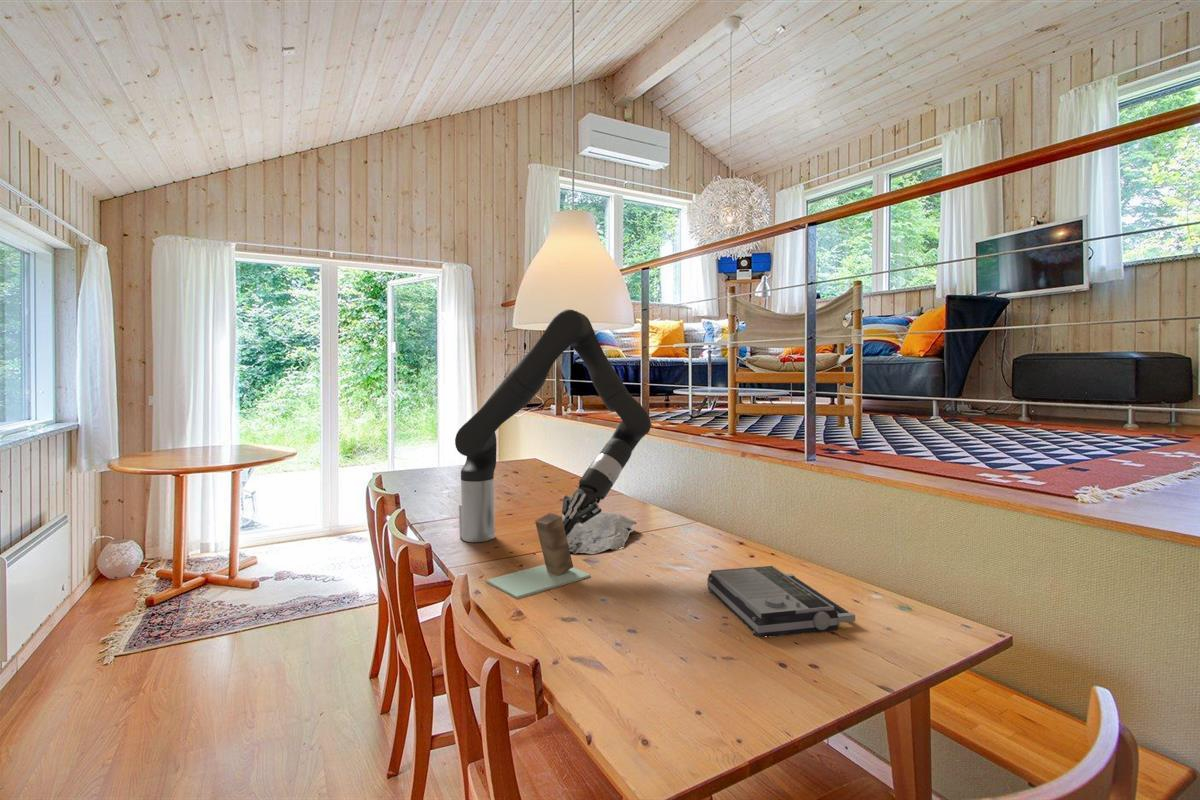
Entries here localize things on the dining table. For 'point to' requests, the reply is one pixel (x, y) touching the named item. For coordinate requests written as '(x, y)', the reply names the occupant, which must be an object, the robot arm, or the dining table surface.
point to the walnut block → (554, 544)
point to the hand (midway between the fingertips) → (561, 533)
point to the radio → (775, 601)
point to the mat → (534, 580)
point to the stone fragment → (600, 533)
